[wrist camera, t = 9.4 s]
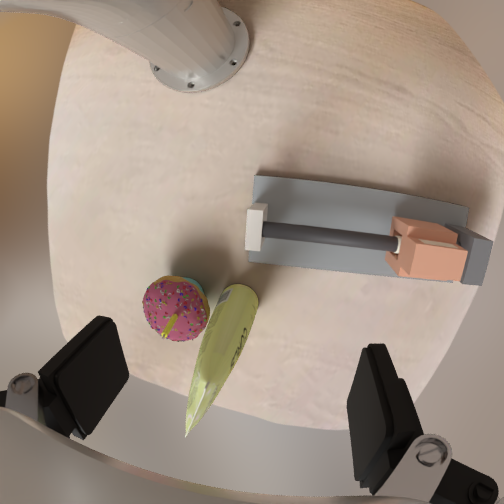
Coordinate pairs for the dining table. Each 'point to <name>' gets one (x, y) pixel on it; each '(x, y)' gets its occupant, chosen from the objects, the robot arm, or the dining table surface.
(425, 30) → the dining table surface
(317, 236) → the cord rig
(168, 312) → the cupcake
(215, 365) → the tube
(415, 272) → the sleeve
